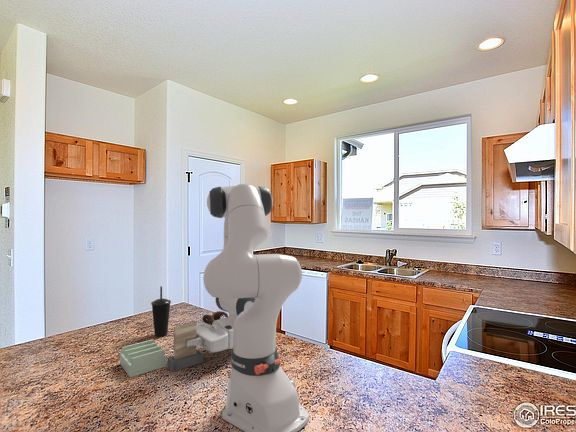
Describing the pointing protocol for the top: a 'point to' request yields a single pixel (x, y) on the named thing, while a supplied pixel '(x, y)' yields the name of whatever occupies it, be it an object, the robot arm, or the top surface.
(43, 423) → the top surface
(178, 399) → the top surface
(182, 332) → the maple board
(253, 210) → the robot arm
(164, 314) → the drinking cup
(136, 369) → the dish rack
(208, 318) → the pottery mug
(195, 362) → the board stand
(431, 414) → the top surface
